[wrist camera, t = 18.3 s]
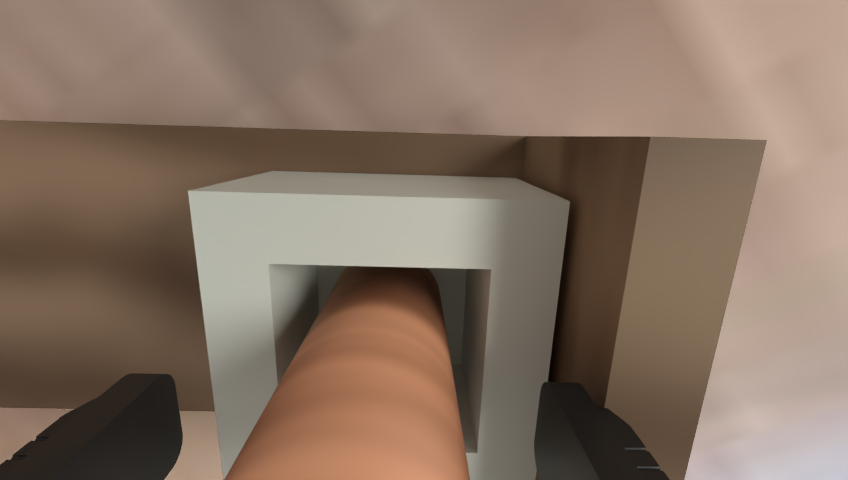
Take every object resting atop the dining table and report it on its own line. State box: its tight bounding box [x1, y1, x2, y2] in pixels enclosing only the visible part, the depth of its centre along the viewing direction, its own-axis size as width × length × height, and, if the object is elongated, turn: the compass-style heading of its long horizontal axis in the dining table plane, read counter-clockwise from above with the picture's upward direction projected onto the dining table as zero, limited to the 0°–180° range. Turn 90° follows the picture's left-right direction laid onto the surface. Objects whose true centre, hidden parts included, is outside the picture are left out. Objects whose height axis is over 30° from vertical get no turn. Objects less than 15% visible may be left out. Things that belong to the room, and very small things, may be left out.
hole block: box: [188, 171, 570, 480], centre depth 13 cm, size 9×9×6 cm
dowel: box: [224, 266, 470, 480], centre depth 10 cm, size 4×4×10 cm
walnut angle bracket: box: [0, 120, 767, 480], centre depth 12 cm, size 12×25×9 cm, turn 88°
